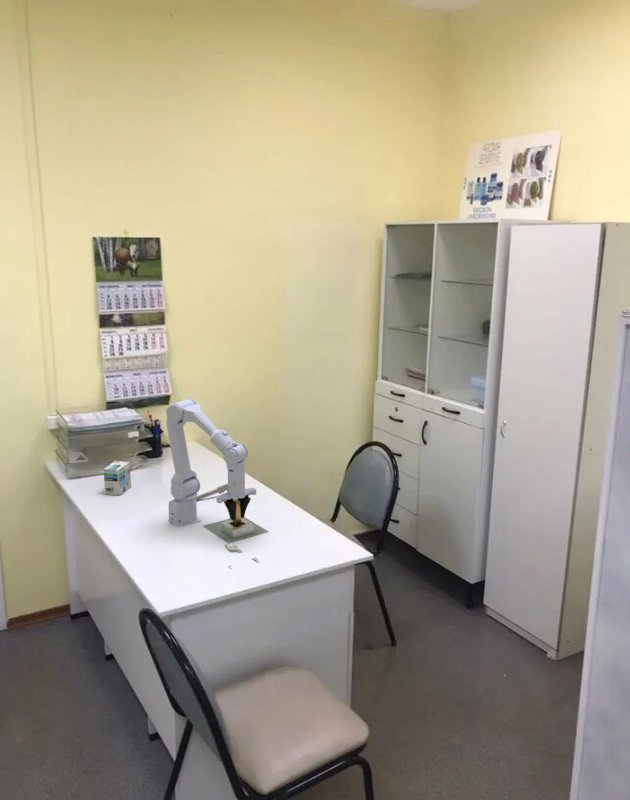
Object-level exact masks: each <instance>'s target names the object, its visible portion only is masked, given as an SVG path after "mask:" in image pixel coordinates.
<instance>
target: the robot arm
mask: <svg viewBox="0 0 630 800" xmlns="http://www.w3.org/2000/svg"><path fill="white" fill-rule="evenodd" d="M165 413H166V423H165V424H166V430H167V435H168V441H169V446H170V452H171V457H172V461H173V462H172V463H173V468H174V473H173V476H172V477H171V479H170V485H171V486H170V493H171V496H172V497H173V499H171V500H170V501H168V505H167V508H168V520H167V521H168V522H170V523H171V524H173V525H174V526H175V527H177V528H180V527H184V526H189V525H192V524H195V523H200V522H202V520H203V519H201V518H200V517H198V515H197V514H198V513H197V512H198V511H197V509H198V508H197V506H198V505H197V501H196V496H198V492H199V491H200V490H201V483H200V480H199V479H198V476H197V473H196V472H195V471H194V470H192V468H191V462H190V458H189V452H188V447H187V441H186V437H185V429H184V426H185V425H186V423H194V424H195V425H196V426H197V427H199V428H200V429H201V430H202V431H203V432H204V433H206V434H207V436H209V437H210V443H211V444H212V445H213V446H214V447H215V448H216V449H218V451H219V452H220V453H221V454H222V455H223V460H224V461H225V463H226V468H227V484H228V492H227V491H226V492H223V493H221V494H219V495H217V496H216V497H215V498H216V503H218V504H219V505H220V504H222V503H223V504H224V505H225V507H226V509H227V512H228V515H229V519H231V520H233V521H234V520H235V509H236V504H237V503H235V502H234V501H233V499H240V500H241V518H244V517H245V515H246V510H247V507H248V506H249V503H250V502H251V497H249V496H252V495H254V496H255V495H257V489H256V488H255V487H249V488H246V469H245V468H246V466H245V461H246V459H247V458H248V455H249V453H248V449H247V448H246V446H245V445H244V444H243V443H239V442H237V441H235V440H234V439H233V438H232V437H231V436H230V435H229V434H228V431H227V430H224V429H218V428H217V427H216V426H215V424H214V423H213V422H212V421H211V420H210V419H209V417H207V415H206V414H205V413H204V412H203V411H202V407H201V405H200V404H199V403H198V402H197V401H196V400H195V399H193V398H192V397H191V398H190V397H189V398H187V399H184V400H181V401H177V402H173V403H170V404H169V406H168V407H167V408H166V409H165Z"/></svg>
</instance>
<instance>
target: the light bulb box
mask: <svg viewBox="0 0 630 800" xmlns="http://www.w3.org/2000/svg"><path fill="white" fill-rule="evenodd" d="M103 479H104V481H103V483H104V494H105V495H110V496H122V495H123V494H124V493H125V492H127V491H128V490H129V489H130V488H132V478H131V462H129V461H122V460H121V461H119V460H114V461H113V462H111V463H110V464H108V465H107V466H105V468H103Z"/></svg>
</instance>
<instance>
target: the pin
mask: <svg viewBox="0 0 630 800" xmlns="http://www.w3.org/2000/svg"><path fill="white" fill-rule="evenodd" d="M233 501H234V502H235V503H237V504H236V509H235V520H234V521H233V526H234V527H238V526H242V521H241V500H240V499H233Z"/></svg>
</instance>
